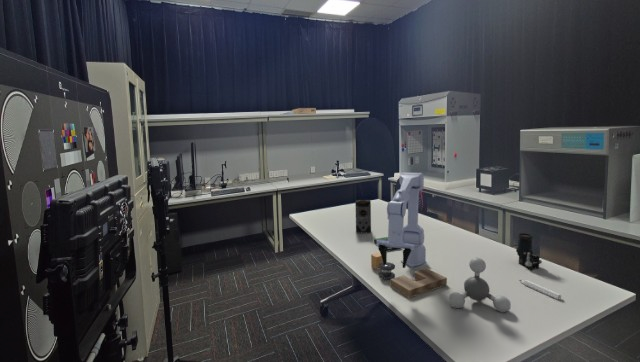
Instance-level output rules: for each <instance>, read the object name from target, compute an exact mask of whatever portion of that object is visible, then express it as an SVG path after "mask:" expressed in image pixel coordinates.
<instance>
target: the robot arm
mask: <svg viewBox="0 0 640 362" xmlns="http://www.w3.org/2000/svg"><path fill="white" fill-rule="evenodd" d="M398 179H399V185H400V188H399V189H397V191H396V192H395V194H394V195H393V198H392V200H391V201H388V202H387V206H386V213H387V220H388V226H387V227H388V229H387V230H388V231H387V237H388V241H383V240H377V245H376V246H377V247H378V248H377V249H378V251H379V253H380V254H381V256H382V260H383V265H386V262H387V261H388V260H387V259H388V258H387V256H388V251H387V247H394V248H401V249H400V250H402V259H401V260H400V262H401V263H402V269H405V268H406V266H409V267H411V268H413V267H417V266H420V265H424V264H427V263H428V261H426V259H427V258H426V252H427V251H426V250H427V249H426V246H425V245H424V243H425V230H424V228H423V227H421V225H419V197H420V191H422V190H424V184H425V183H424V182H425V181H424V180H425V178H424V174H423V172H404V171H402V172H400V174H399V177H398ZM406 212H407V224H406V225H404V217H405V215H406Z"/></svg>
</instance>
